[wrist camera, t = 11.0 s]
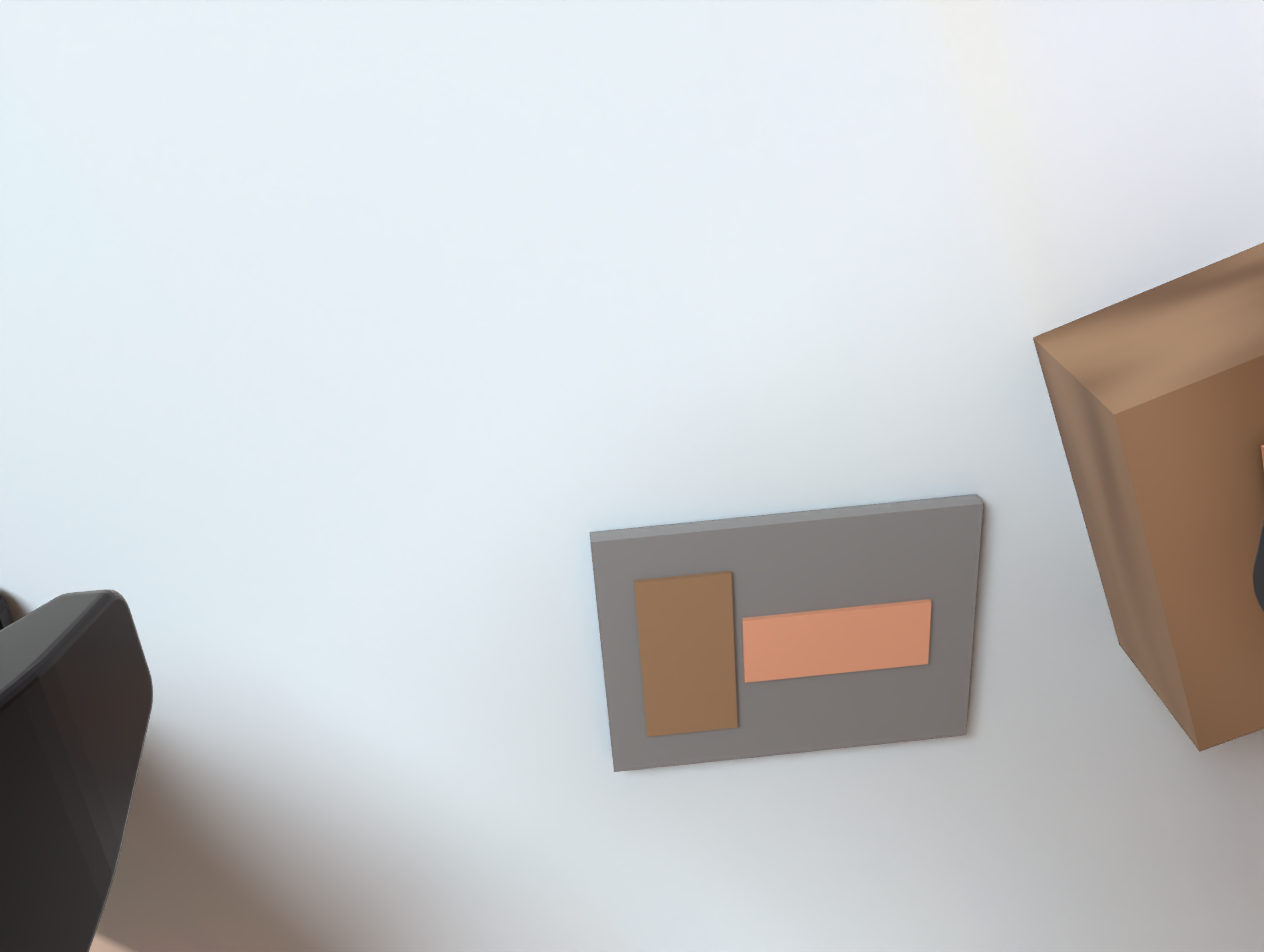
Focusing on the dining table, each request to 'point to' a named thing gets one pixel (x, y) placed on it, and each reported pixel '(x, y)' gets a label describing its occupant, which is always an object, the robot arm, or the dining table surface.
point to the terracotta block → (1263, 449)
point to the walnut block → (1175, 481)
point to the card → (788, 631)
